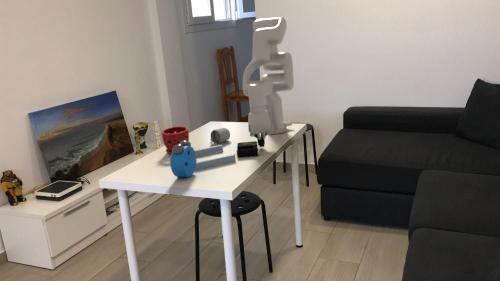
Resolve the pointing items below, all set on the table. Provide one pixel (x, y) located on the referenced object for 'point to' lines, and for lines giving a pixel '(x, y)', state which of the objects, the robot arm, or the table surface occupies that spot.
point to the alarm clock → (183, 159)
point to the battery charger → (247, 149)
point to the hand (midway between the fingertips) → (261, 146)
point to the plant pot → (174, 137)
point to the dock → (215, 160)
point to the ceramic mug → (220, 135)
